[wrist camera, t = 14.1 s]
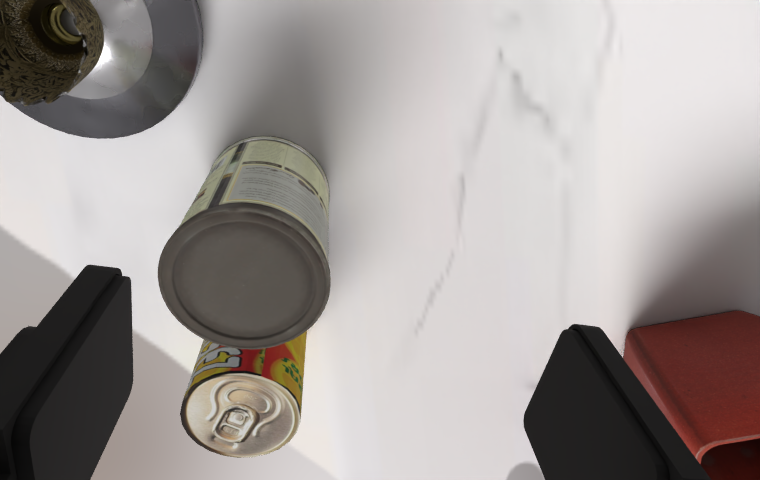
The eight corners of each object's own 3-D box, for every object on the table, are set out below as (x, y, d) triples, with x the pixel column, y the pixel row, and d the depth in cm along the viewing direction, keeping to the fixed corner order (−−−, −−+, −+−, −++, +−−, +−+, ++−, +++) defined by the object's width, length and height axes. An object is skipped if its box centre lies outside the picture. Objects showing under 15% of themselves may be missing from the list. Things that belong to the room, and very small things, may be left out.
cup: (5, -52, 33) (-85, -55, 26) (128, -29, 34) (74, -26, 27) (23, 69, 36) (-53, 95, 29) (133, 86, 37) (86, 115, 30)
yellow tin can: (321, 300, 49) (318, 392, 39) (287, 367, 53) (276, 468, 43) (229, 269, 47) (200, 358, 37) (200, 341, 51) (166, 441, 40)
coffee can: (318, 255, 47) (312, 360, 35) (201, 235, 45) (152, 338, 33) (342, 149, 43) (346, 227, 30) (214, 121, 41) (162, 192, 28)
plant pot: (745, 409, 62) (875, 550, 47) (588, 436, 62) (668, 586, 47) (781, 277, 53) (955, 401, 38) (596, 309, 53) (699, 445, 38)
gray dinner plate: (-62, -144, 32) (-82, -149, 30) (208, -81, 34) (202, -83, 33) (-22, 112, 39) (-36, 118, 37) (198, 148, 41) (193, 155, 40)
